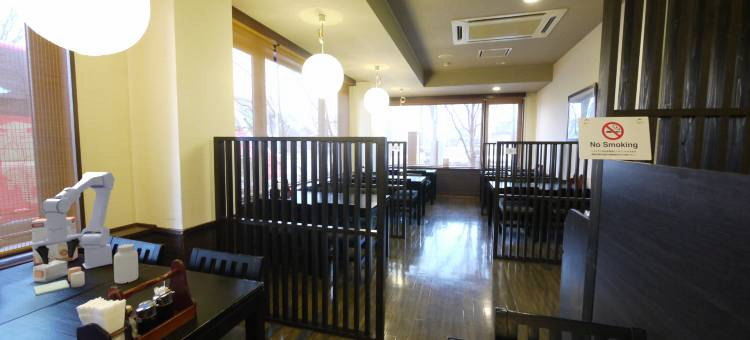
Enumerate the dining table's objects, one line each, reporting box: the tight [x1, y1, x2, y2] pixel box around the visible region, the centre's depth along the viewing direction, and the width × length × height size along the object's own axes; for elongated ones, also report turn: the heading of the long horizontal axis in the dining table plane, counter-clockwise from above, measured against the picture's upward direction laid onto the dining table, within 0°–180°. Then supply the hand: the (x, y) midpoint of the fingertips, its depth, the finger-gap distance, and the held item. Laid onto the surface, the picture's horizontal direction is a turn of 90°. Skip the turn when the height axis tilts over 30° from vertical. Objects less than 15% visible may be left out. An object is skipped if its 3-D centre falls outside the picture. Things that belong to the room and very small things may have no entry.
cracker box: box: [31, 216, 79, 266], centre depth 148 cm, size 14×6×21 cm, turn 115°
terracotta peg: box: [67, 266, 82, 283], centre depth 129 cm, size 4×4×5 cm
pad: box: [33, 279, 71, 297], centre depth 122 cm, size 9×9×1 cm
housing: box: [32, 260, 69, 284], centre depth 130 cm, size 9×6×6 cm
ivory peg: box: [70, 270, 86, 288], centre depth 124 cm, size 4×4×5 cm
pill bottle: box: [113, 243, 139, 284], centre depth 130 cm, size 8×8×15 cm
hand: (58, 260), depth 125 cm, fingers open, 7 cm apart
